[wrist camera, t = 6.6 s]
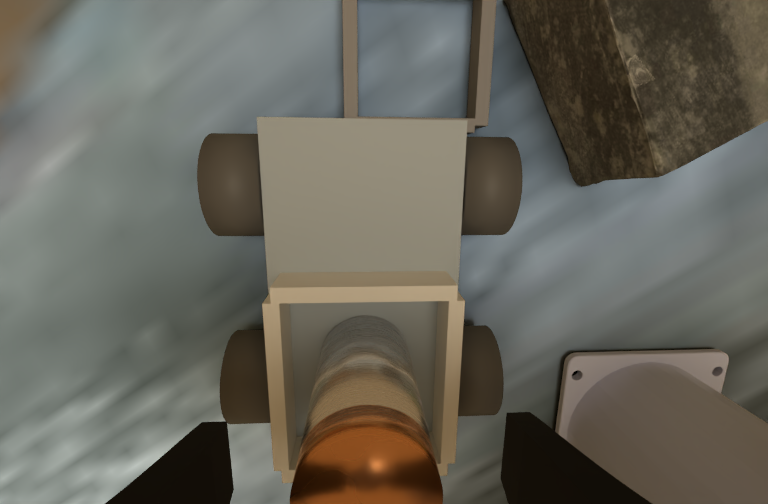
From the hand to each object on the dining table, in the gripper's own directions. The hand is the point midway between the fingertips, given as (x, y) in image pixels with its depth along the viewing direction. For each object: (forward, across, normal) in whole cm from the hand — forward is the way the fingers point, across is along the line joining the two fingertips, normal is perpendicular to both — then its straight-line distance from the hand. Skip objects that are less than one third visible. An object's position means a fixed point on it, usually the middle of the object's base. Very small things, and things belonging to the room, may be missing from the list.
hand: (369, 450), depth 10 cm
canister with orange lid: (+4, 0, 0) cm, 4 cm away
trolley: (+8, 0, -5) cm, 9 cm away
